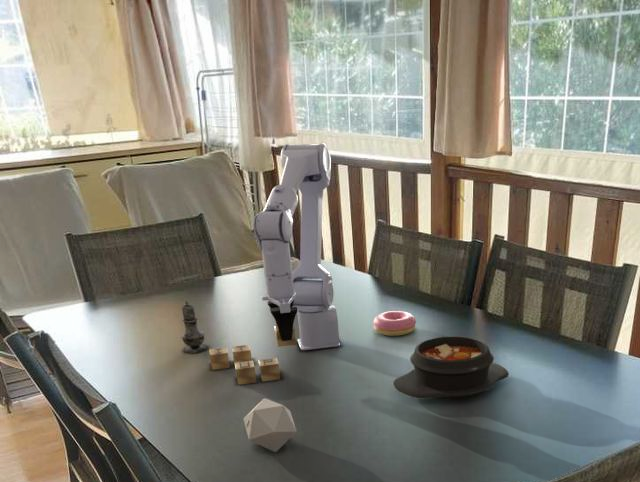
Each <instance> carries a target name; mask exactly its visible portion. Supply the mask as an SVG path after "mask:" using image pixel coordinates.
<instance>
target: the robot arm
mask: <svg viewBox="0 0 640 482" xmlns="http://www.w3.org/2000/svg"><path fill="white" fill-rule="evenodd" d="M280 164H281V168H282V175H281V178H280V181H279V184H278V185H275V186H274V187H273V188H272V190H271V191H270V194H269V197H268V199H267V201H266V204H265V206H264V209H263V210H261V211H259V213H257V214H255V216H254V220H253V234H254V237H255V239H256V241H257V245H258V246H257V247H258V250H259V252H261V256H262V265H263V273H264V280H265V288H266V294H262V295H261V300H262V301H267V302H266V303H267V305H268V307H269V311H270V314H271V315H272V317H273V319H274V321H275V324H276V325H277V326H278V329H279V333H280V336H281V339H282V341H287V340H292V334H293V326H294V322H295V318H296V316H297V319H298V320H297V321H298V331H299V338H297V339H296V342H297V343H298V345H299V349H300V350H301V351H312V350H319V349H328V348H329V349H330V348H337V347H340V346H341V343H340V333H339V332H340V331H339V319H338V312H337V308H336V307H335V306H334V305H332V304H333V302H334V294H335V293H334V286H333V276H332V274H331V273H330V272H329V271H328V270H327V269H325V268H324V267H323V266H322V237H323V236H322V235H323V233H322V231H323V199H324V190H325V189H326V188H328V187H330V183H331V170H332V169H331V166H332V159H331V154H330V149H329V147H328V146H327V144H326V143H324V142H321V143H302V144H290V143H285V144H284V145H283V146H282V148H281V152H280ZM298 191H299V192H300V194H301V195H300V196H301V197H300V198H301V203H300V251H299V252H300V253H299V256H300V258H299V266H297V267H296V268H295V269H294V270H293V267H292V259H291V251H290V249H291V248H290V241H291V239H292V236H293V225H294V219H293V217H294V214H295V211H296V209H297V206H298V204H299V197H298V194H297V192H298Z"/></svg>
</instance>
